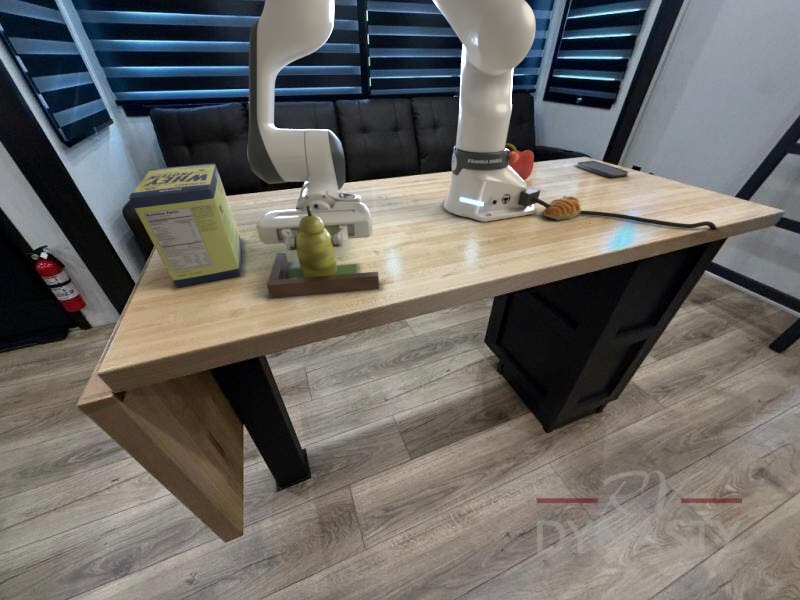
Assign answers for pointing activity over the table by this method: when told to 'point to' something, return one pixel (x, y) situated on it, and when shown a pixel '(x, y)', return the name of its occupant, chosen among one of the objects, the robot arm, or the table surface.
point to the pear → (315, 247)
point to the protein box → (189, 223)
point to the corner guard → (316, 282)
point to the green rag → (340, 270)
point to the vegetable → (522, 162)
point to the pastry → (563, 208)
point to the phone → (602, 169)
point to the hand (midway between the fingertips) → (314, 244)
